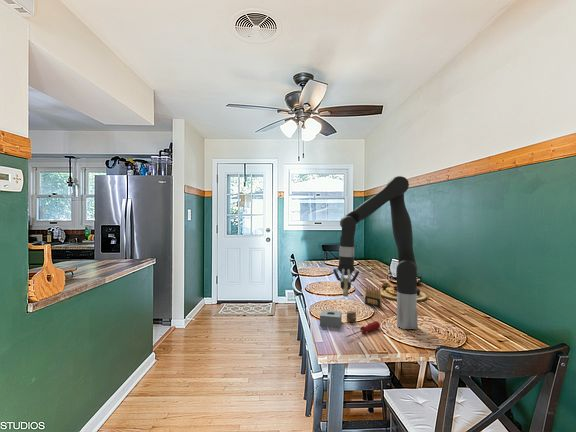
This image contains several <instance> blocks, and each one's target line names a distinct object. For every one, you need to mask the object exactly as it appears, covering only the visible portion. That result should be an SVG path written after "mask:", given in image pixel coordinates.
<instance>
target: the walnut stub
mask: <svg viewBox="0 0 576 432" xmlns="http://www.w3.org/2000/svg"><path fill="white" fill-rule="evenodd" d="M346 322H348V323H356V322H357V311H353V310H347V311H346Z"/></svg>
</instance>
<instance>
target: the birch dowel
mask: <svg viewBox="0 0 576 432" xmlns="http://www.w3.org/2000/svg"><path fill="white" fill-rule="evenodd" d="M343 282H344V283H343V289H342V290H343V291H342V296H343V297H349V290H348V277H344V278H343Z"/></svg>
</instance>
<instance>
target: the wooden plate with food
mask: <svg viewBox="0 0 576 432" xmlns="http://www.w3.org/2000/svg"><path fill="white" fill-rule="evenodd" d="M380 290H381V298H384V299H387V300H391V301H396V302H397V284H395V285H392V286H391V284H390V283H389V282H386V281H383V283H382V284H381V288H380ZM378 292H379V290H378ZM427 299H428V297H427V295H426V294H425V293H424V292H421V289H420V288H419V287H417V303H418V302H419V303H420V302H424V301H426V300H427Z"/></svg>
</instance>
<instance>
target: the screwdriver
mask: <svg viewBox="0 0 576 432" xmlns="http://www.w3.org/2000/svg"><path fill="white" fill-rule="evenodd" d="M379 328H381V324H380V322H379V321H377V320H375V321H374V322H373V321H372V322H369V323H368V324H367V325H365V326H361V327H360V328H359V329H360V330H359V331H356V332H353V333H351V334H349V335H346V336H345V338H348V337H351V336H353V335H356V334H359V333H362V334H366V333H367V332H373V331H375V330H378V329H379Z"/></svg>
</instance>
